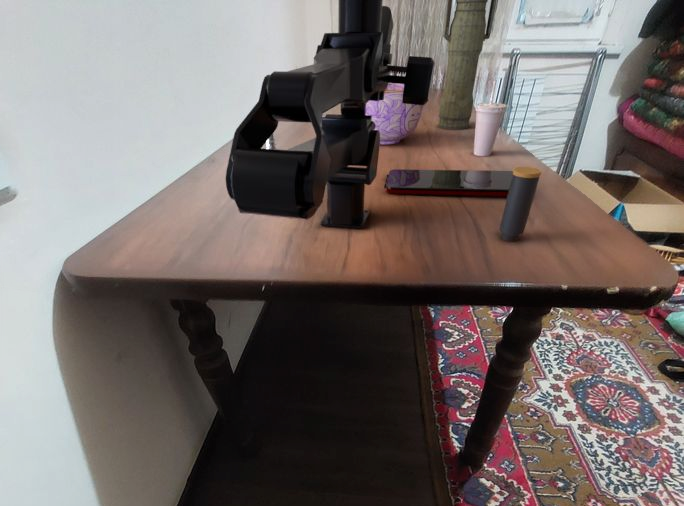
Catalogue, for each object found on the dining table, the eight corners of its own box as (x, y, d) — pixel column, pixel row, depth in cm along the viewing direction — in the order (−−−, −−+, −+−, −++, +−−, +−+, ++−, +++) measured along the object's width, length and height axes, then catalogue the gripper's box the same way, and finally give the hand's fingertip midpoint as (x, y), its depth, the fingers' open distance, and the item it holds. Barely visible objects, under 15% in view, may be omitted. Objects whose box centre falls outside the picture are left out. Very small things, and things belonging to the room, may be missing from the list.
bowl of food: (429, 149, 96) (435, 92, 89) (345, 151, 97) (345, 94, 90) (417, 132, 112) (422, 82, 105) (345, 133, 113) (345, 84, 105)
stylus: (523, 243, 55) (543, 174, 49) (497, 241, 56) (514, 173, 50) (520, 234, 57) (539, 167, 52) (496, 232, 58) (512, 166, 52)
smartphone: (388, 167, 80) (520, 169, 76) (387, 176, 81) (518, 178, 77) (383, 187, 71) (534, 190, 67) (383, 196, 72) (531, 199, 68)
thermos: (428, 124, 120) (446, -38, 98) (467, 122, 121) (493, -39, 99) (437, 130, 113) (459, -43, 91) (478, 128, 114) (509, -44, 92)
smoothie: (491, 150, 95) (506, 78, 86) (500, 157, 90) (517, 82, 81) (464, 151, 95) (476, 79, 86) (472, 158, 90) (486, 83, 81)
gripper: (438, 8, 52) (445, 22, 65) (303, 1, 56) (335, 16, 69) (422, 107, 59) (431, 103, 71) (302, 96, 62) (331, 93, 75)
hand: (382, 77), depth 71 cm, fingers open, 9 cm apart
